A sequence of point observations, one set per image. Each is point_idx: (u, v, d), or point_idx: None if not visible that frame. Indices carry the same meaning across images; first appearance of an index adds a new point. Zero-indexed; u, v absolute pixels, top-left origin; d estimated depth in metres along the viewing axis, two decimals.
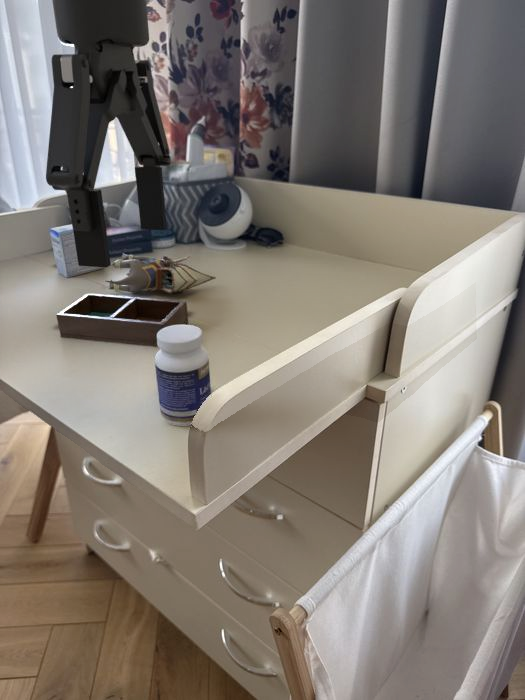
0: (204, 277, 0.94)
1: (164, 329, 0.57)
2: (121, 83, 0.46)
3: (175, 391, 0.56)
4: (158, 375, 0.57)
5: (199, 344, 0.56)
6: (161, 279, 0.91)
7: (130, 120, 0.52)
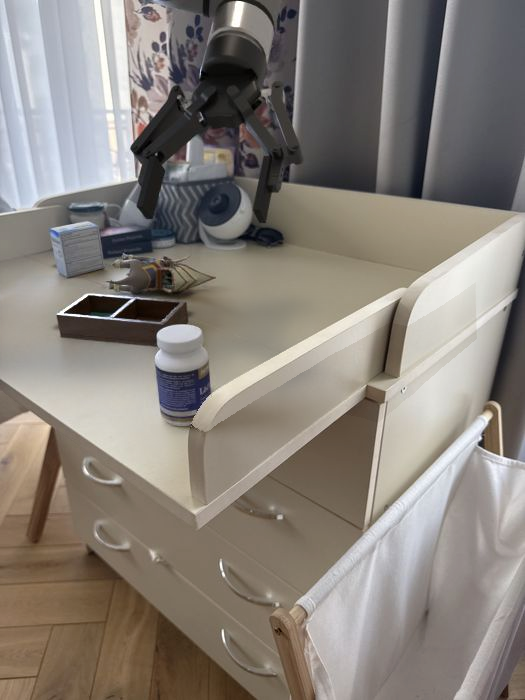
0: (204, 277, 0.94)
1: (164, 329, 0.57)
2: None
3: (175, 391, 0.56)
4: (158, 375, 0.57)
5: (199, 344, 0.56)
6: (161, 279, 0.91)
7: (192, 128, 0.63)
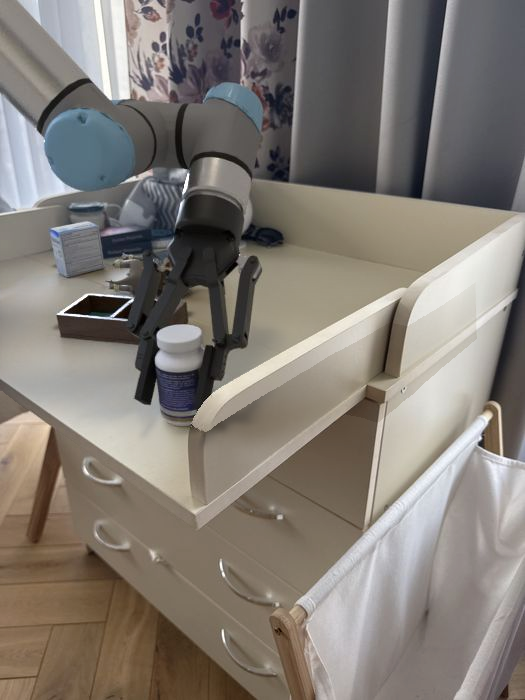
0: None
1: (164, 329, 0.57)
2: None
3: (175, 391, 0.56)
4: (158, 375, 0.57)
5: (199, 344, 0.56)
6: (161, 279, 0.91)
7: (179, 292, 0.60)
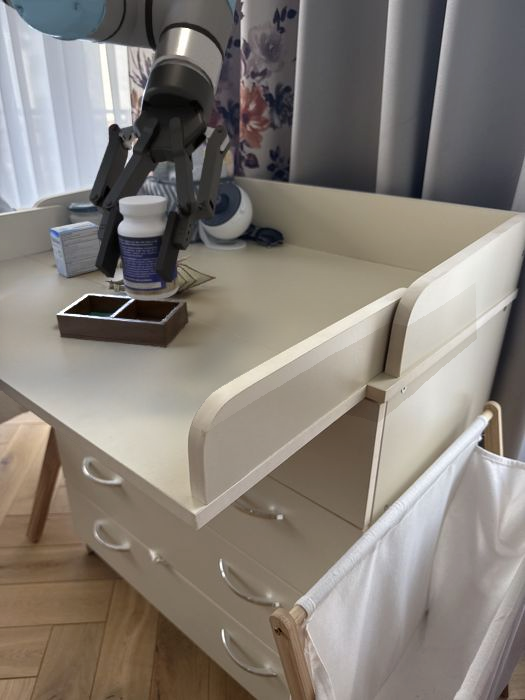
0: (204, 277, 0.94)
1: (127, 197, 0.55)
2: None
3: (138, 259, 0.54)
4: (121, 244, 0.55)
5: (162, 210, 0.54)
6: None
7: (145, 166, 0.58)
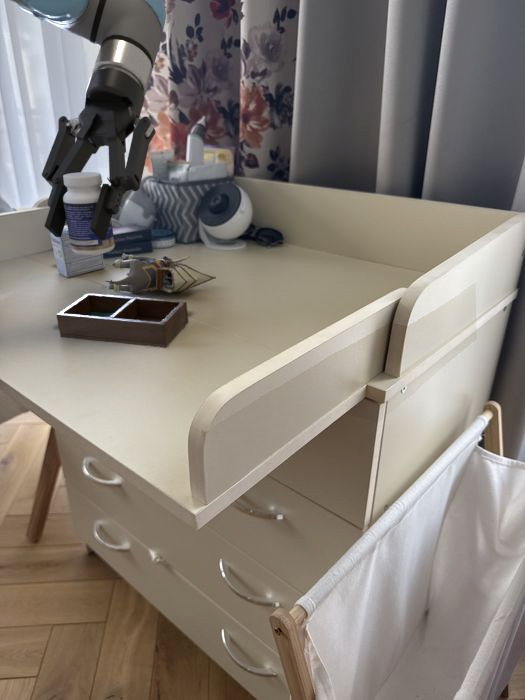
0: (204, 277, 0.94)
1: (71, 173, 0.70)
2: None
3: (78, 221, 0.69)
4: (65, 209, 0.70)
5: (97, 182, 0.69)
6: (161, 279, 0.91)
7: (87, 150, 0.73)
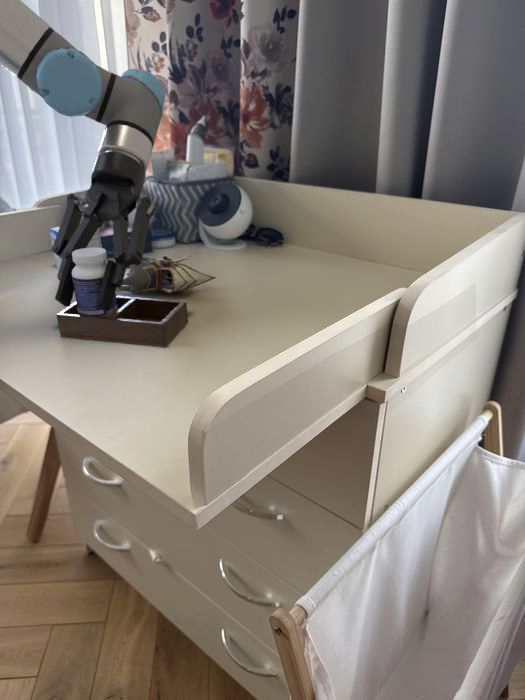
0: (204, 277, 0.94)
1: (79, 249, 0.77)
2: None
3: (86, 294, 0.76)
4: (74, 283, 0.77)
5: (103, 259, 0.76)
6: (161, 279, 0.91)
7: (93, 225, 0.80)
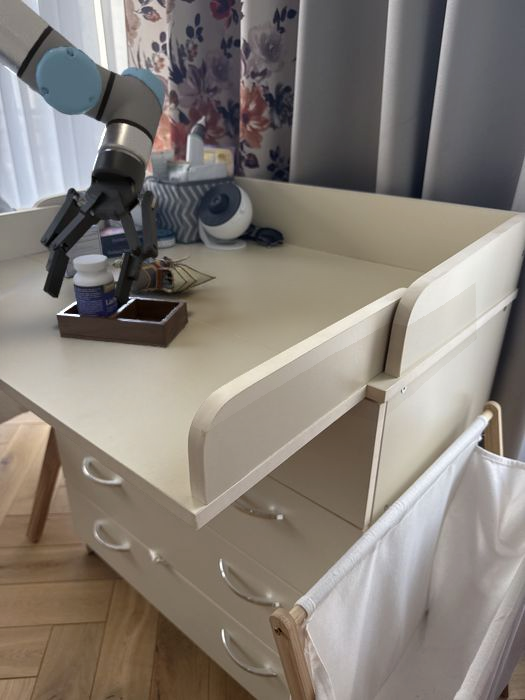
0: (204, 277, 0.94)
1: (80, 257, 0.78)
2: None
3: (87, 301, 0.77)
4: (75, 290, 0.77)
5: (104, 266, 0.76)
6: (161, 279, 0.91)
7: (87, 222, 0.80)
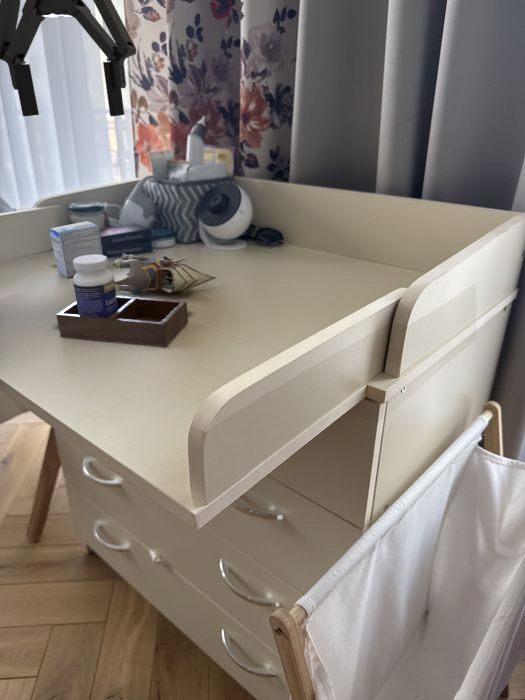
0: (204, 277, 0.94)
1: (80, 257, 0.78)
2: None
3: (87, 301, 0.77)
4: (75, 290, 0.77)
5: (104, 266, 0.76)
6: (161, 279, 0.91)
7: (35, 23, 0.72)
